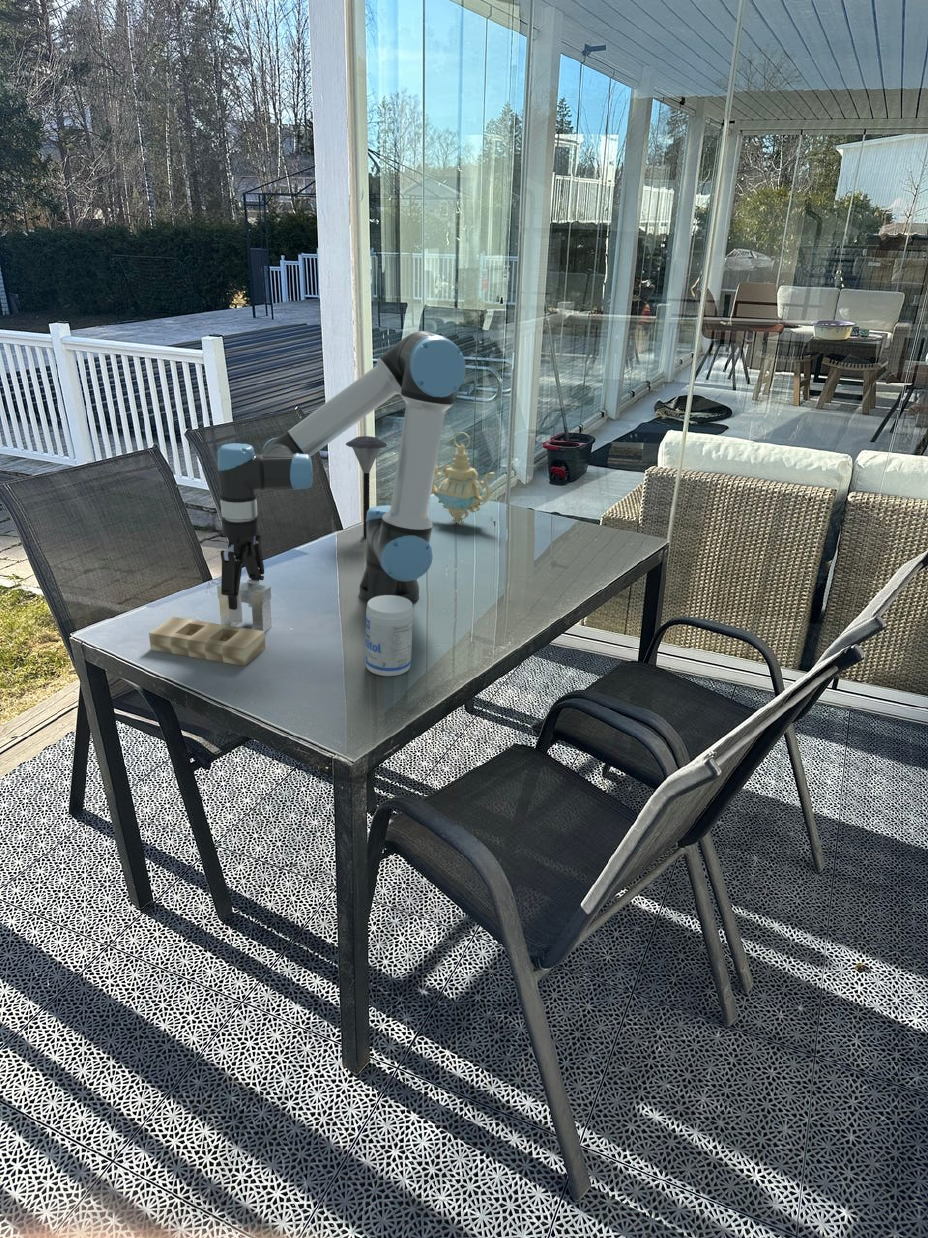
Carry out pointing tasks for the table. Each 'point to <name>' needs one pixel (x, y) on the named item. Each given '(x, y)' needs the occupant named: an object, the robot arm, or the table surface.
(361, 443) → the solar garden light
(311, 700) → the table surface
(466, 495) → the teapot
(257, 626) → the grey u-shaped block
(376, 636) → the supplement tub
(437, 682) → the table surface
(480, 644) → the table surface
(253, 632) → the wooden block with holes
